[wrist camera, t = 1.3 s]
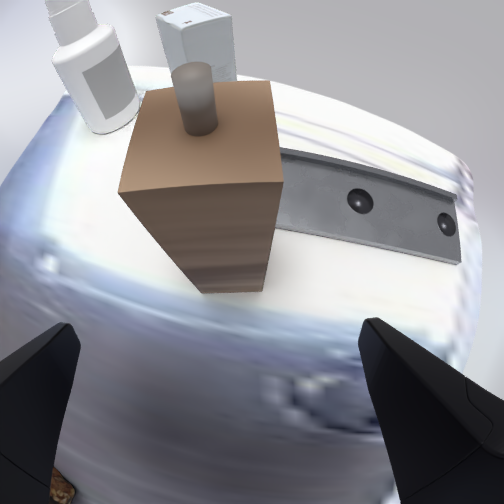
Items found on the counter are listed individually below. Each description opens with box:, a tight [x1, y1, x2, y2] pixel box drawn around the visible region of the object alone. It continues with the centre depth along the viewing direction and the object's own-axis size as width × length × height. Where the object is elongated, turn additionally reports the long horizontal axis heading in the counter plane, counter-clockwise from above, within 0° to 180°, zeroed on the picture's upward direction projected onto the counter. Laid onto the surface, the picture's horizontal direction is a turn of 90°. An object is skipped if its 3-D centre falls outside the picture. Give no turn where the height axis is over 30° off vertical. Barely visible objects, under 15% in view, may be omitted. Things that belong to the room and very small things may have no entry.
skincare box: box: [156, 2, 237, 83], centre depth 20 cm, size 6×4×12 cm
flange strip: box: [275, 147, 461, 265], centre depth 22 cm, size 22×7×1 cm, turn 79°
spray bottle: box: [45, 0, 140, 134], centre depth 18 cm, size 7×7×18 cm
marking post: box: [118, 62, 284, 293], centre depth 13 cm, size 4×4×16 cm
